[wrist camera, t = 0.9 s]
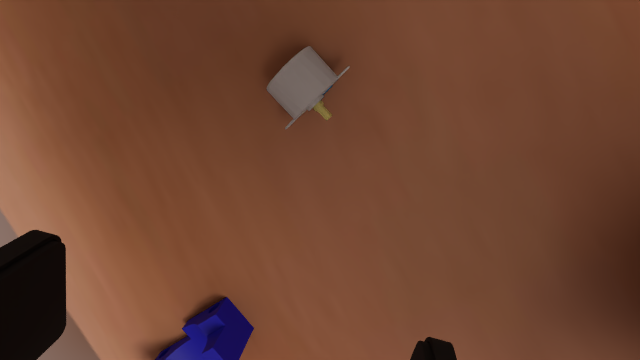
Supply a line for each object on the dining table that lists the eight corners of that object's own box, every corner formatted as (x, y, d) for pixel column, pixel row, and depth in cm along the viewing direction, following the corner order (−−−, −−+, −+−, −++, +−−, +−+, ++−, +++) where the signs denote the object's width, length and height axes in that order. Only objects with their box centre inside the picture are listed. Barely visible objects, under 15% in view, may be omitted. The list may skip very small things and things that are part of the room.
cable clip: (227, 295, 40) (202, 335, 35) (254, 326, 41) (233, 371, 35) (153, 341, 44) (119, 383, 38) (179, 368, 45) (149, 414, 39)
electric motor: (307, 137, 33) (293, 151, 28) (267, 95, 32) (247, 103, 28) (367, 80, 31) (363, 86, 26) (326, 35, 30) (315, 32, 25)
